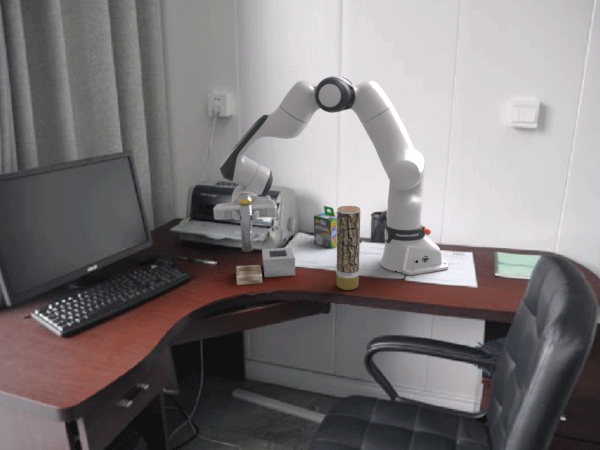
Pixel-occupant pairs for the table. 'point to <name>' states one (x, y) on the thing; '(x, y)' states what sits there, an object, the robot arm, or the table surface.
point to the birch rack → (249, 274)
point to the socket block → (278, 262)
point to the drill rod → (246, 221)
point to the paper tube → (348, 247)
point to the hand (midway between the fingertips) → (246, 217)
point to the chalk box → (326, 228)
